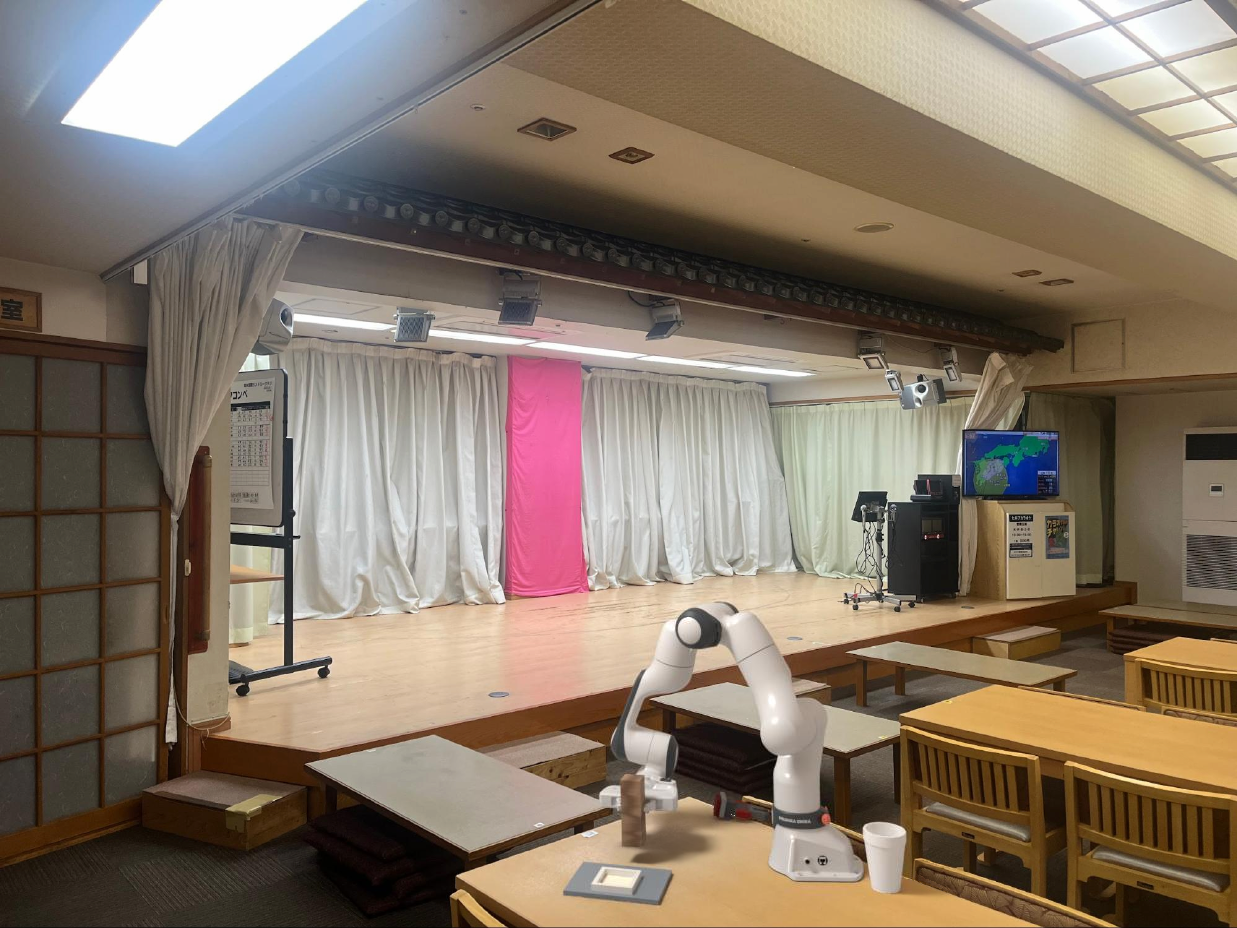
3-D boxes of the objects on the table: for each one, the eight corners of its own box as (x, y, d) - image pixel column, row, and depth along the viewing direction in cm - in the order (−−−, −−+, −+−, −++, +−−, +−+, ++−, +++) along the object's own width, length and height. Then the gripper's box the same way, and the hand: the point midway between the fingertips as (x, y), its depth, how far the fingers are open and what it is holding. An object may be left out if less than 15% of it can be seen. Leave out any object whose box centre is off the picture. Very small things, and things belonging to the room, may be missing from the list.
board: (671, 874, 204) (671, 869, 204) (658, 904, 188) (658, 900, 188) (583, 865, 209) (583, 861, 209) (563, 894, 194) (563, 890, 194)
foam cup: (864, 893, 193) (863, 835, 193) (863, 876, 201) (862, 820, 202) (908, 898, 190) (907, 839, 191) (906, 880, 199) (905, 824, 199)
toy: (763, 821, 244) (711, 810, 245) (767, 799, 244) (715, 789, 245) (767, 833, 235) (714, 822, 236) (771, 810, 236) (718, 799, 236)
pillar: (646, 839, 214) (644, 774, 215) (641, 847, 209) (639, 781, 210) (626, 838, 215) (625, 773, 216) (621, 846, 211) (620, 780, 211)
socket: (641, 876, 200) (641, 870, 200) (632, 894, 191) (631, 888, 191) (602, 872, 203) (602, 866, 203) (591, 890, 193) (591, 883, 194)
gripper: (606, 776, 228) (591, 793, 215) (681, 780, 223) (671, 798, 210) (606, 800, 228) (592, 819, 214) (682, 805, 223) (672, 824, 209)
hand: (632, 809), depth 212 cm, fingers closed on pillar, 5 cm apart
